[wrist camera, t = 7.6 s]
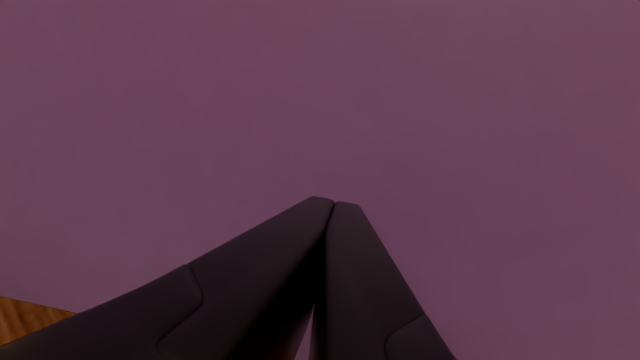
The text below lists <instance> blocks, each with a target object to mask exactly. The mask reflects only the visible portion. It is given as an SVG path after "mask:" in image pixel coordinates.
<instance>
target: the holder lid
mask: <svg viewBox="0 0 640 360" xmlns="http://www.w3.org/2000/svg"><path fill="white" fill-rule="evenodd" d="M311 196H318V197H323V198H328V199H332V200H333V201H334V202H335V203H336V202H337V201H343V202H348V203H354V204H358V205H359V206H360V207H361V209H362V210H363V212H364V214H365V215H366V217H367V218H368V220H369V222H370V223H371V225H372V227H373V228H374V230H375V231H376V233H377V235H378V236H379V238H380V240H381V241H382V243H383V245H384V246H385V248H386V249H387V251H388V253H389V254H390V256H391V258H392V259H393V261H394V263H395V264H396V266H397V267H398V269H399V271H400V272H401V274H402V276H403V277H404V279H405V280H406V282H407V284H408V285H409V287H410V289H411V290H412V292H413V294H414V295H415V297H416V298H417V300H418V302H419V303H420V305H421V307H422V308H423V310H424V312H425V314H426V315H428V317H429V318H430V320H431V322H432V323H433V325H434V326H435V328H436V330H437V331H438V333H439V334H440V336H441V337H442V339H443V340H444V342H445V343H446V345H447V346H448V348H449V349H450V351H451V352H452V354H453V355H454V356H455V358H456V359H457V360H640V0H0V297H5V298H10V299H14V300H19V301H23V302H28V303H32V304H37V305H42V306H46V307H51V308H55V309H60V310H64V311H69V312H73V313H81V312H83V311H86V310H88V309H90V308H93V307H95V306H98V305H100V304H102V303H105V302H107V301H109V300H112V299H114V298H116V297H118V296H121V295H123V294H125V293H127V292H130V291H132V290H134V289H137V288H139V287H141V286H143V285H145V284H147V283H149V282H151V281H153V280H155V279H157V278H159V277H161V276H163V275H165V274H167V273H169V272H170V271H172V270H174V269H176V268H178V267H180V266H182V265H183V264H188V263H189V262H191V261H192V260H194V259H196V258H198V257H200V256H202V255H204V254H205V253H207V252H209V251H211V250H213V249H215V248H216V247H218V246H220V245H222V244H224V243H226V242H228V241H229V240H231V239H233V238H235V237H237V236H239V235H240V234H242V233H244V232H246V231H248V230H250V229H252V228H253V227H255V226H257V225H259V224H261V223H263V222H264V221H266V220H268V219H270V218H272V217H274V216H275V215H277V214H279V213H281V212H283V211H285V210H287V209H288V208H290V207H292V206H294V205H296V204H298V203H299V202H301V201H303V200H305V199H307V198H309V197H311ZM313 310H314V308H313ZM312 317H313V312H312V315H311V318H310V321H309V324H308V326H307V329H306V332H305V334H304V337H303V339H302V342H301V344H300V347H299V349H298V351H297V354H296V356H295V359H294V360H309V349H310V337H311V325H312Z"/></svg>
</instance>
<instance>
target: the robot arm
mask: <svg viewBox="0 0 640 360" xmlns="http://www.w3.org/2000/svg"><path fill="white" fill-rule="evenodd" d="M313 308H314V310H313ZM312 312H313V317H312V325H311V337H310V349H309V360H457V359H456V358H455V356H454V355H453V354H452V352H451V351H450V349H449V348H448V346H447V345H446V343H445V342H444V340H443V339H442V337H441V336H440V334H439V333H438V331H437V330H436V328H435V326H434V325H433V323H432V322H431V320H430V318H429V317H428V315H426V314H425V312H424V310H423V308H422V307H421V305H420V303H419V302H418V300H417V298H416V297H415V295H414V294H413V292H412V290H411V289H410V287H409V285H408V284H407V282H406V280H405V279H404V277H403V276H402V274H401V272H400V271H399V269H398V267H397V266H396V264H395V263H394V261H393V259H392V258H391V256H390V254H389V253H388V251H387V249H386V248H385V246H384V245H383V243H382V241H381V240H380V238H379V236H378V235H377V233H376V231H375V230H374V228H373V227H372V225H371V223H370V222H369V220H368V218H367V217H366V215H365V214H364V212H363V210H362V209H361V207H360V206H359V205H358V204H354V203H348V202H343V201H337V202H336V203H335V202H334V201H333V200H332V199H328V198H323V197H318V196H311V197H309V198H307V199H305V200H303V201H301V202H299V203H298V204H296V205H294V206H292V207H290V208H288V209H287V210H285V211H283V212H281V213H279V214H277V215H275V216H274V217H272V218H270V219H268V220H266V221H264V222H263V223H261V224H259V225H257V226H255V227H253V228H252V229H250V230H248V231H246V232H244V233H242V234H240V235H239V236H237V237H235V238H233V239H231V240H229V241H228V242H226V243H224V244H222V245H220V246H218V247H216V248H215V249H213V250H211V251H209V252H207V253H205V254H204V255H202V256H200V257H198V258H196V259H194V260H192V261H191V262H189V263H188V264H183V265H182V266H180V267H178V268H176V269H174V270H172V271H170V272H169V273H167V274H165V275H163V276H161V277H159V278H157V279H155V280H153V281H151V282H149V283H147V284H145V285H143V286H141V287H139V288H137V289H134V290H132V291H130V292H127V293H125V294H123V295H121V296H118V297H116V298H114V299H112V300H109V301H107V302H105V303H102V304H100V305H98V306H95V307H93V308H90V309H88V310H86V311H83V312H81V313H78V314H76V315H74V316H71V317H69V318H66V319H64V320H62V321H59V322H57V323H54V324H52V325H50V326H47V327H45V328H43V329H40V330H38V331H35V332H33V333H31V334H28V335H26V336H23V337H21V338H19V339H16V340H14V341H11V342H9V343H7V344H4V345H2V346H0V360H294V359H295V356H296V354H297V351H298V349H299V347H300V344H301V342H302V339H303V337H304V334H305V332H306V329H307V326H308V324H309V321H310V318H311V315H312Z"/></svg>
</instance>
